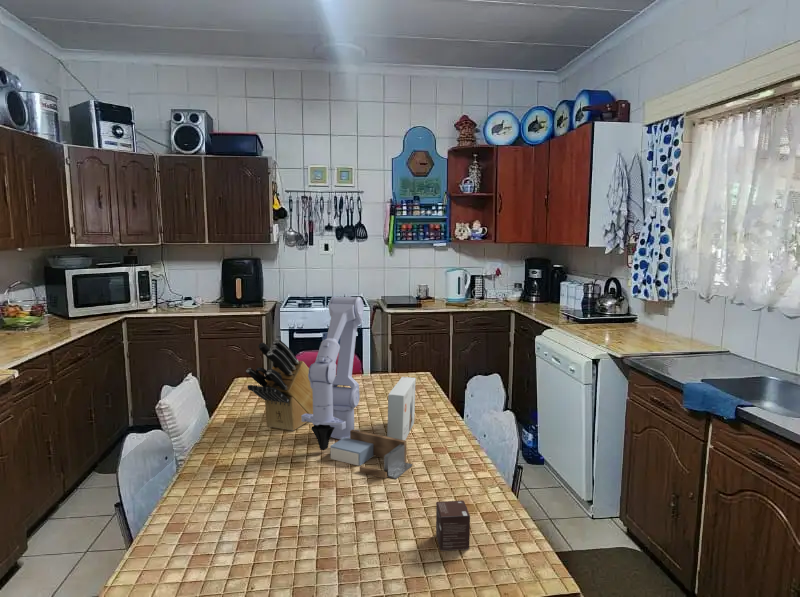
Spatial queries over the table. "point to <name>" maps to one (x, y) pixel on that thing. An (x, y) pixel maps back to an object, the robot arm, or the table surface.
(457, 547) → the box
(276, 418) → the knife block
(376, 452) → the shelf
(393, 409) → the skincare box
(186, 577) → the table surface
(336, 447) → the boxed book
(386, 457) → the bookend
